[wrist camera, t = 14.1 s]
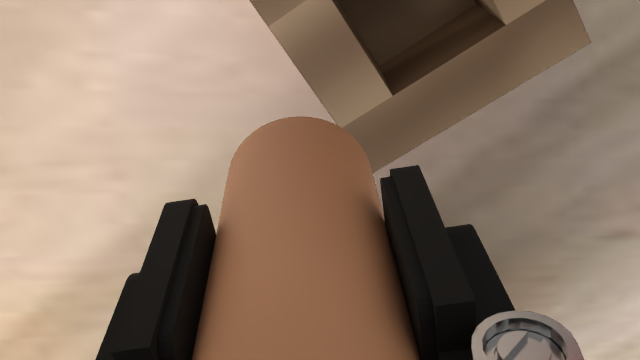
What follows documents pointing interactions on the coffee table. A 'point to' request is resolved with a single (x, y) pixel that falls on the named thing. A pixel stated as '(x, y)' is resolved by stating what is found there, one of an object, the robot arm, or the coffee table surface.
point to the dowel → (303, 254)
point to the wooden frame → (418, 59)
